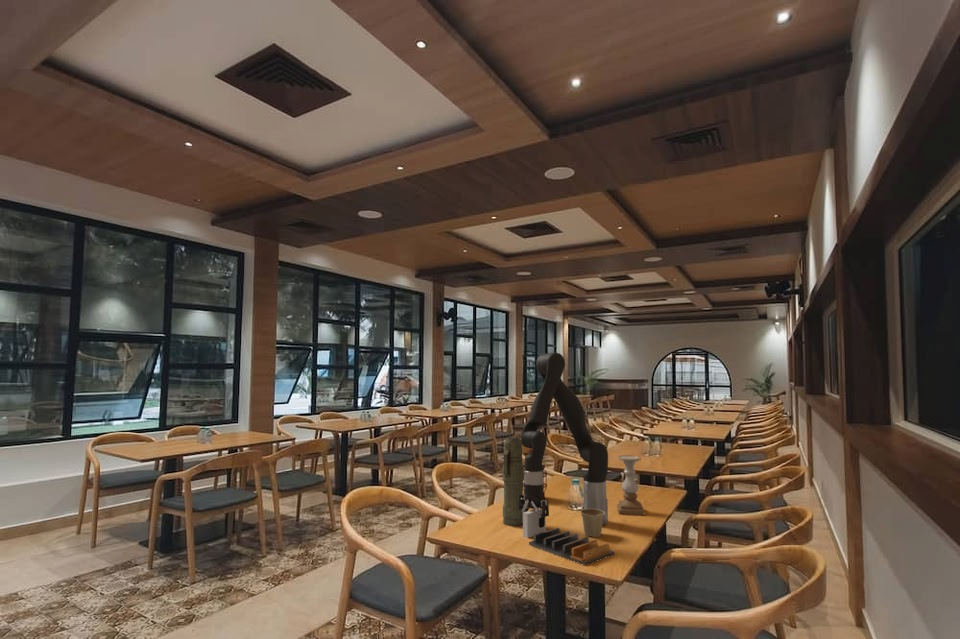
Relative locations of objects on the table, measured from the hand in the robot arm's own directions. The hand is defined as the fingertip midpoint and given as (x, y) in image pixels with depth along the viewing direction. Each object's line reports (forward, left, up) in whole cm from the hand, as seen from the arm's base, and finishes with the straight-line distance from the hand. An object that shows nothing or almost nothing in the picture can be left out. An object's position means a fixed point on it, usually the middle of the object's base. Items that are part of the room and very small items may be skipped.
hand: (533, 524), depth 208 cm
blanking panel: (0, 0, -4) cm, 4 cm away
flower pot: (-17, +15, -4) cm, 23 cm away
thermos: (-4, -16, -4) cm, 17 cm away
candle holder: (-55, +6, -4) cm, 56 cm away
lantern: (-38, -37, -4) cm, 53 cm away
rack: (+2, +20, -4) cm, 21 cm away
